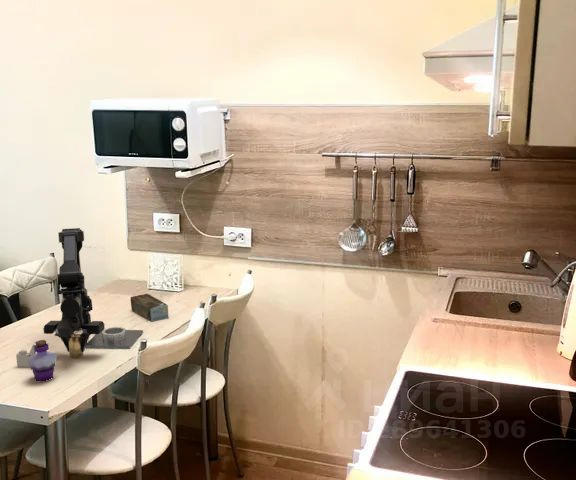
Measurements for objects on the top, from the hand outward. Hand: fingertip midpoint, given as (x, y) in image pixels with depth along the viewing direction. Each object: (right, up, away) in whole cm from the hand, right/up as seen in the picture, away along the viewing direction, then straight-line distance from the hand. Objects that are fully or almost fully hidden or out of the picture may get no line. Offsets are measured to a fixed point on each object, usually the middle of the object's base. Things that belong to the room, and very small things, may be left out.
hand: (76, 351), depth 210 cm
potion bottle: (-4, -5, -17) cm, 18 cm away
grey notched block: (-13, -4, -8) cm, 15 cm away
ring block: (+9, +2, +14) cm, 17 cm away
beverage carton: (+15, +7, +43) cm, 46 cm away
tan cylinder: (0, -2, 0) cm, 2 cm away
